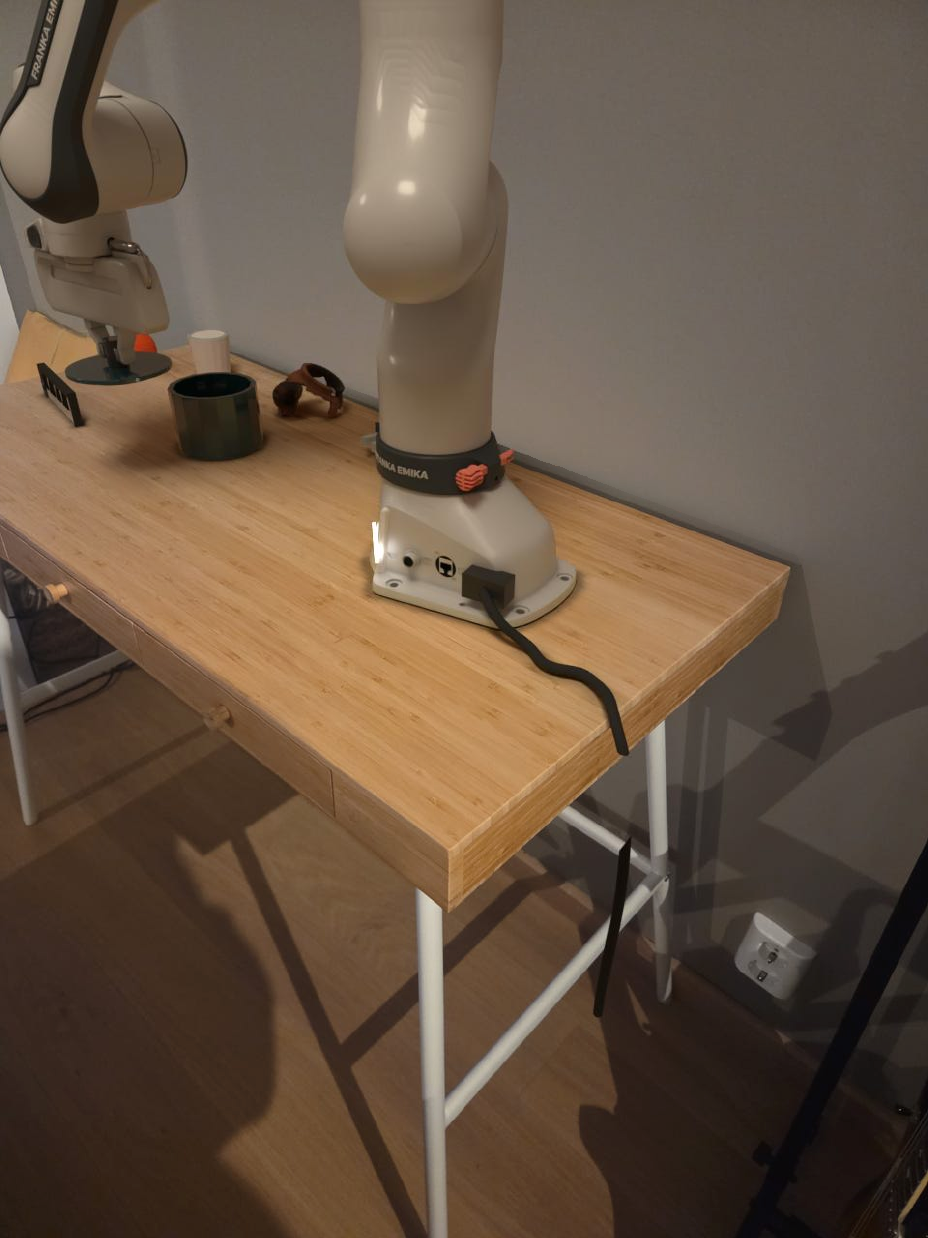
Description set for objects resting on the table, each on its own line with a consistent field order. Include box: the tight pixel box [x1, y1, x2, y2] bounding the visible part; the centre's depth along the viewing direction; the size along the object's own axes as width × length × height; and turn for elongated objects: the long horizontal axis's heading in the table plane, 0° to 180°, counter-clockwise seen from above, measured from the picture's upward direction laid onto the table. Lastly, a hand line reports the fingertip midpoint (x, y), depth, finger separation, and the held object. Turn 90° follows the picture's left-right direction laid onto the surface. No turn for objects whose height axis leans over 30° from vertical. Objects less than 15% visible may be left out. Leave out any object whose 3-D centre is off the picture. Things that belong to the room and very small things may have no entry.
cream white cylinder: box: [186, 328, 232, 374], centre depth 140 cm, size 7×7×7 cm
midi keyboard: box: [35, 362, 84, 428], centre depth 126 cm, size 18×1×5 cm, turn 36°
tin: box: [167, 371, 264, 462], centre depth 114 cm, size 11×11×8 cm
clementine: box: [134, 333, 158, 353], centre depth 141 cm, size 8×7×7 cm
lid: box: [64, 335, 173, 387], centre depth 99 cm, size 12×12×4 cm
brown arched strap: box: [271, 362, 346, 419], centre depth 125 cm, size 12×10×8 cm
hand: (117, 359), depth 99 cm, fingers closed on lid, 2 cm apart
